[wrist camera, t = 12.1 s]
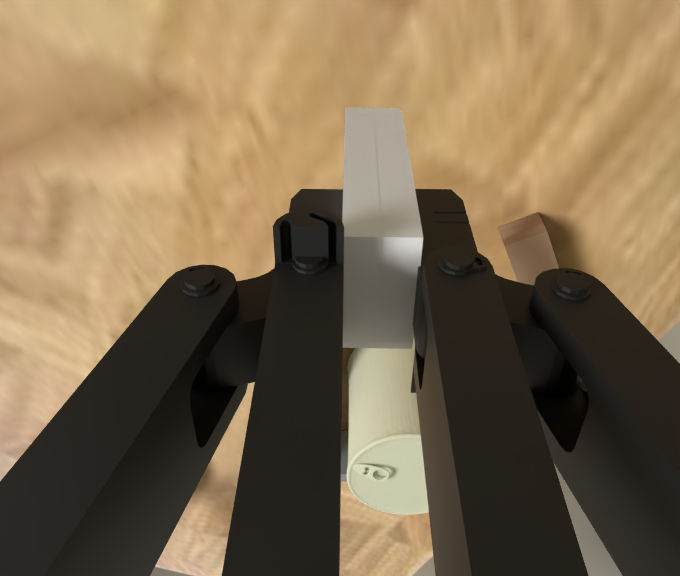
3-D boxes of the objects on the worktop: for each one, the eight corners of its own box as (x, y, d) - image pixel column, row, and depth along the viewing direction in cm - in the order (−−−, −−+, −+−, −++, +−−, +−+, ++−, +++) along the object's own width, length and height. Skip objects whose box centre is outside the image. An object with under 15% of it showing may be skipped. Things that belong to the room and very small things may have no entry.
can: (364, 317, 52) (366, 429, 42) (469, 340, 53) (494, 455, 44) (335, 393, 57) (331, 509, 48) (431, 413, 59) (447, 530, 49)
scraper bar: (556, 384, 57) (565, 409, 54) (496, 224, 47) (504, 246, 45) (590, 374, 56) (601, 398, 53) (536, 209, 46) (547, 230, 44)
